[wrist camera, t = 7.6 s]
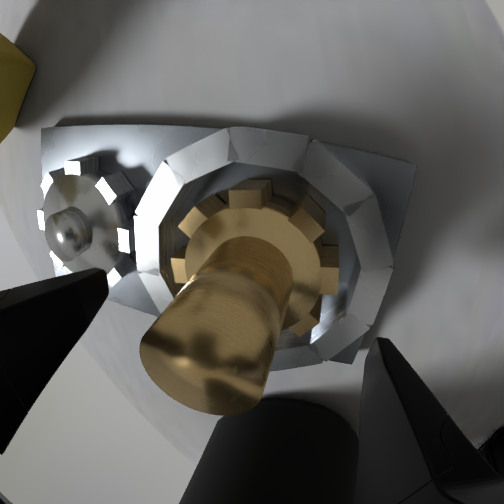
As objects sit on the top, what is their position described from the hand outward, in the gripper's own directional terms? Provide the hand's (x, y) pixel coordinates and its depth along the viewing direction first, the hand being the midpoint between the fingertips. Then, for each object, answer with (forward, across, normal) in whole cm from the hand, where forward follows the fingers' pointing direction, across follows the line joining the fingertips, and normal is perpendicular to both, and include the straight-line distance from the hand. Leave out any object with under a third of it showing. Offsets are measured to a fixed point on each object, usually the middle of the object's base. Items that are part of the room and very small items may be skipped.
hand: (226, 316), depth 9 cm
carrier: (+6, +4, 0) cm, 7 cm away
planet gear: (+4, 0, 0) cm, 5 cm away
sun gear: (+6, +9, 0) cm, 11 cm away
